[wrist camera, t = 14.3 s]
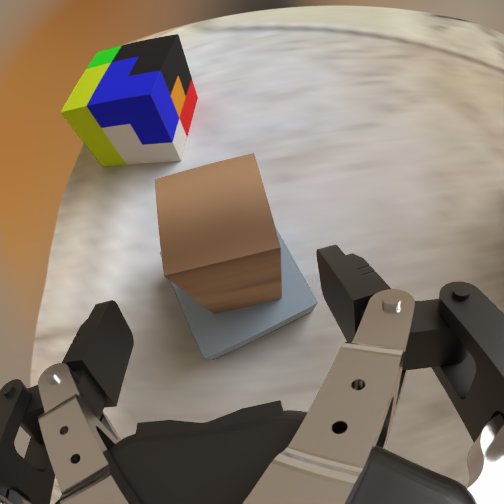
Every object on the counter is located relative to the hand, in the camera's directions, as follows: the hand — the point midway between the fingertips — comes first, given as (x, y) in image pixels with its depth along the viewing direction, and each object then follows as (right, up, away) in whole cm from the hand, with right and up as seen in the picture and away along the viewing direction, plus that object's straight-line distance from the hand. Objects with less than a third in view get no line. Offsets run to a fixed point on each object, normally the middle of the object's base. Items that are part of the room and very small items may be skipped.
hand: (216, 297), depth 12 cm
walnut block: (0, 0, +11) cm, 11 cm away
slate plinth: (0, -1, +15) cm, 15 cm away
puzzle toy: (-11, +16, +22) cm, 30 cm away
